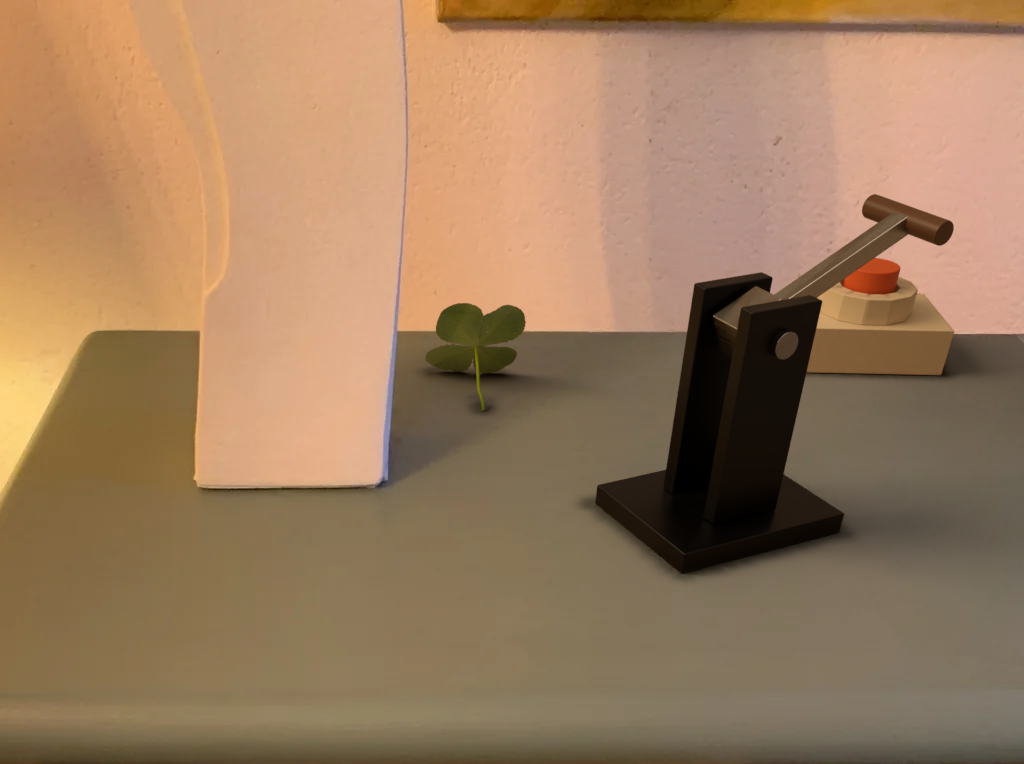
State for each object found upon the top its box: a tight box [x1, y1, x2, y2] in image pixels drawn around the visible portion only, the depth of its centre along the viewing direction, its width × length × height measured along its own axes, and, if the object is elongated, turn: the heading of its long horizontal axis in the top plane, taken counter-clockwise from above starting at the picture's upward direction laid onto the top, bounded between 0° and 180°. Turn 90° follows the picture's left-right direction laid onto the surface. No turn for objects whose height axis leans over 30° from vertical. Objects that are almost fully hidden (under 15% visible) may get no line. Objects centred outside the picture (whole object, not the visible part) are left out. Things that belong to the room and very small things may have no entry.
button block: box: [806, 276, 955, 376], centre depth 85 cm, size 11×8×5 cm
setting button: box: [843, 257, 901, 295], centre depth 83 cm, size 4×4×2 cm
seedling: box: [424, 302, 527, 412], centre depth 80 cm, size 7×8×6 cm
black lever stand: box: [595, 271, 845, 574], centre depth 63 cm, size 11×9×13 cm
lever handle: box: [713, 193, 955, 360], centre depth 60 cm, size 12×6×2 cm, turn 116°
